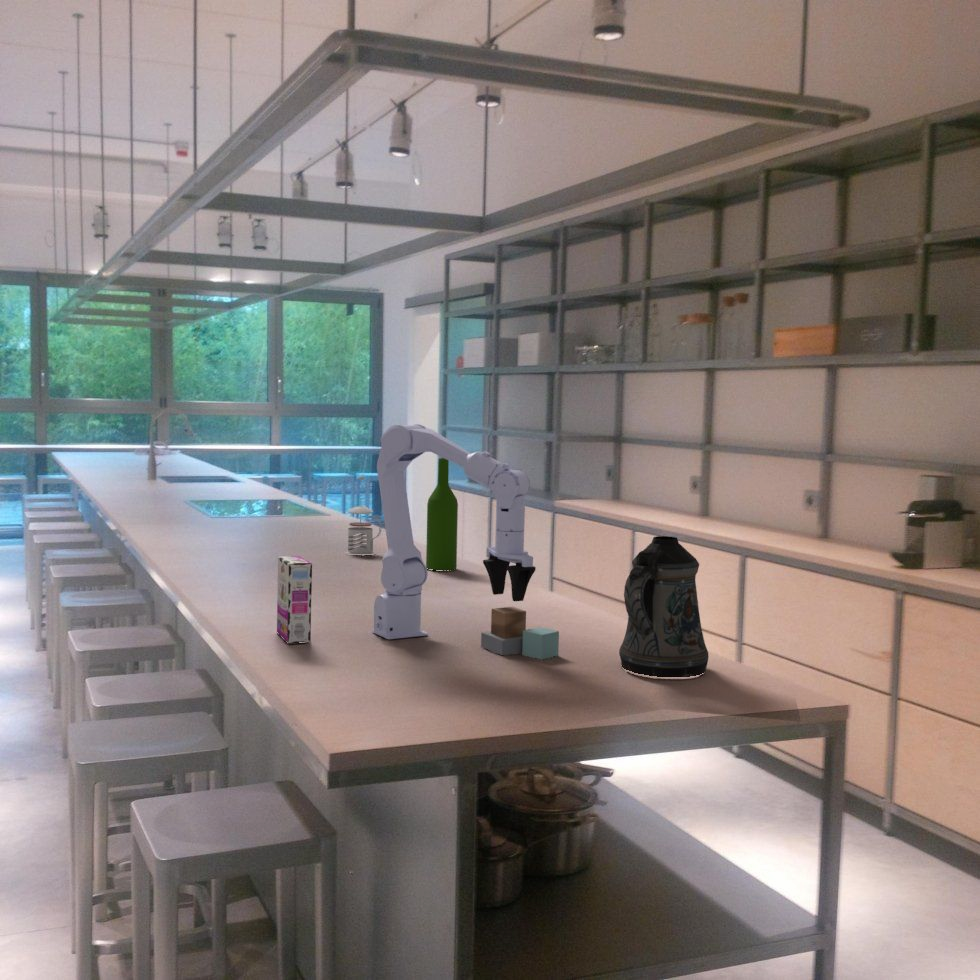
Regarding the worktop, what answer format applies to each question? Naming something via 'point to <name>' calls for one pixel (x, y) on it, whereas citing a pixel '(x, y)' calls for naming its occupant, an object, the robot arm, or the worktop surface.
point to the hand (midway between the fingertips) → (507, 597)
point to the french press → (361, 531)
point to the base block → (501, 643)
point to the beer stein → (663, 613)
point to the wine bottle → (442, 523)
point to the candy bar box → (294, 599)
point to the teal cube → (540, 643)
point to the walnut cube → (508, 622)
